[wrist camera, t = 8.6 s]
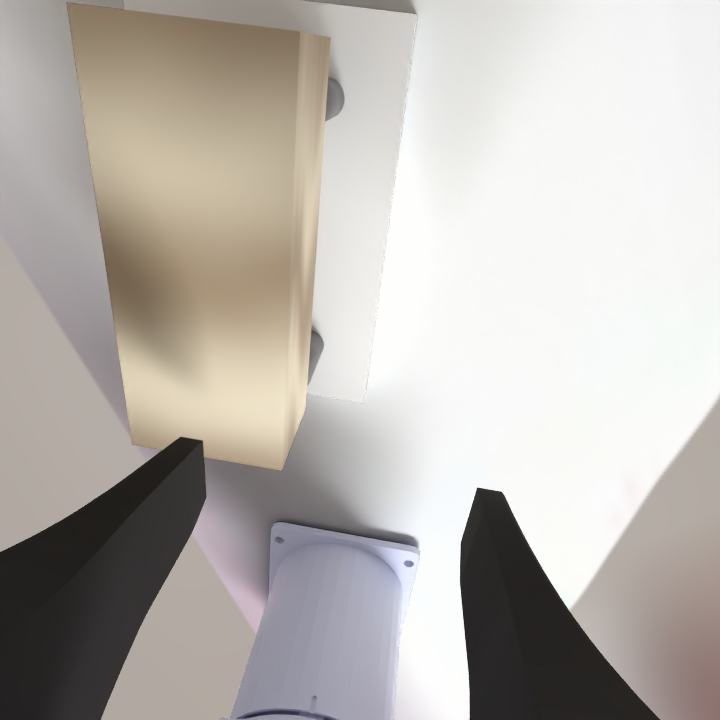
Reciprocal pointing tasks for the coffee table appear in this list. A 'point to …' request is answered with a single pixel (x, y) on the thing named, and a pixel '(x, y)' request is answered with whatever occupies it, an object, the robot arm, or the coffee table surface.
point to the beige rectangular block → (206, 220)
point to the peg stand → (341, 166)
